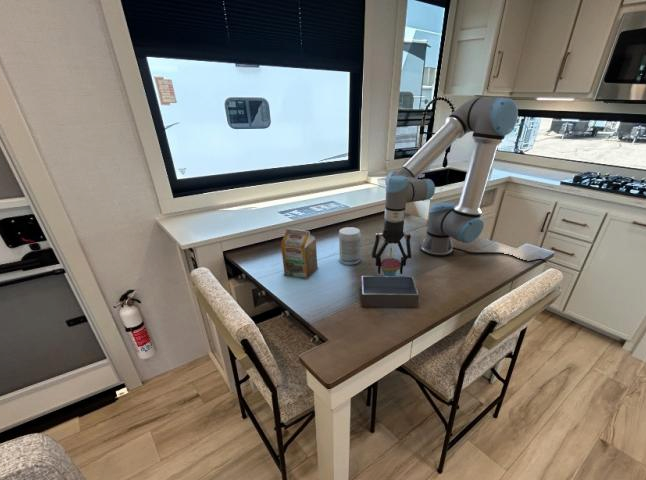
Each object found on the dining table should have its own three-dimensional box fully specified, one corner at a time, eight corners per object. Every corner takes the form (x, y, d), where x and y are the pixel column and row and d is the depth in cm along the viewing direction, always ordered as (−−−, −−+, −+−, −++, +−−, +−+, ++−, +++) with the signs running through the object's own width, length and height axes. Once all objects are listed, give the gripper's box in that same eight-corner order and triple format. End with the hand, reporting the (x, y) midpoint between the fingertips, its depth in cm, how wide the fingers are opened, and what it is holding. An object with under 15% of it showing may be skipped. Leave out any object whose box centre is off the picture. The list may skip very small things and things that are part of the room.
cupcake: (378, 270, 137) (379, 244, 131) (397, 269, 138) (400, 243, 132) (381, 279, 130) (383, 252, 124) (402, 279, 131) (404, 252, 124)
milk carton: (317, 268, 142) (315, 227, 132) (307, 279, 134) (303, 236, 123) (296, 264, 145) (292, 224, 135) (284, 275, 137) (279, 232, 126)
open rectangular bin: (411, 288, 128) (413, 276, 125) (417, 307, 117) (419, 294, 114) (361, 287, 128) (361, 275, 125) (361, 306, 117) (362, 294, 114)
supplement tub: (364, 262, 147) (365, 231, 139) (346, 267, 143) (346, 236, 135) (352, 254, 154) (352, 225, 146) (335, 259, 150) (334, 229, 142)
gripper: (366, 222, 118) (364, 276, 131) (424, 223, 118) (416, 277, 131) (365, 216, 125) (364, 268, 137) (420, 216, 125) (414, 268, 137)
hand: (389, 272), depth 134 cm, fingers closed on cupcake, 8 cm apart
